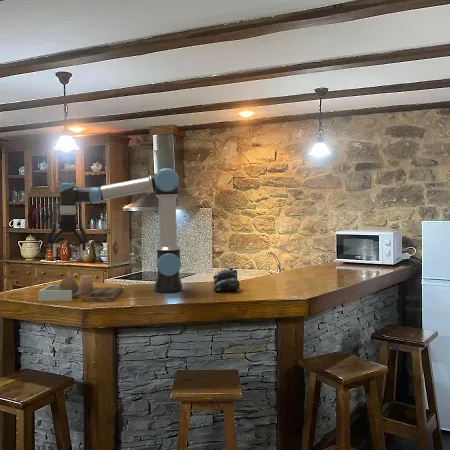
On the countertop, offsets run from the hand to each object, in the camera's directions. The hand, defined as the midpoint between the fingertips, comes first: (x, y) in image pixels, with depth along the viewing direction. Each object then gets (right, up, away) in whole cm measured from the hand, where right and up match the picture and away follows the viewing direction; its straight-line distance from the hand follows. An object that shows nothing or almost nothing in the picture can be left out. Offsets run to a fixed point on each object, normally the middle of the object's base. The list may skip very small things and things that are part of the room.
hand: (68, 257), depth 237 cm
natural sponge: (0, -21, +1) cm, 21 cm away
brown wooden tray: (+17, -20, +4) cm, 26 cm away
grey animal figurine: (+78, -20, +20) cm, 83 cm away
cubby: (-4, -20, +1) cm, 21 cm away
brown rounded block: (+5, -20, +13) cm, 24 cm away
